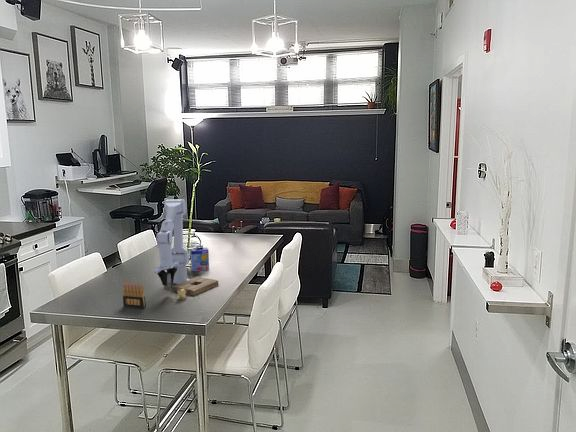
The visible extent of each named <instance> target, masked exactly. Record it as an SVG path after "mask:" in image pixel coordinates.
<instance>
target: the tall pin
mask: <svg viewBox="0 0 576 432" xmlns="http://www.w3.org/2000/svg"><path fill="white" fill-rule="evenodd" d="M172 284H173V283H172V281H171V272H168V274H167V285H166V286H165V285H163V287H164V288H163V289H164V291H171V290H173V285H172Z"/></svg>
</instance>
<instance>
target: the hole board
mask: <svg viewBox="0 0 576 432" xmlns="http://www.w3.org/2000/svg"><path fill="white" fill-rule="evenodd" d="M216 285H218V286H219V280H218V279H212V278H206V277H202V276H196V277H194V278H191V280H188V281H185V282H183V283H180V284H175V285H172V291H173V292H176V293H178V289H185V290H186V295H189V296H196V295H198V294H201V293H203V292H206V291H208V290H210V288H211V289H213V288H215V287H217V286H216ZM214 286H215V287H214ZM212 287H213V288H212Z"/></svg>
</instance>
